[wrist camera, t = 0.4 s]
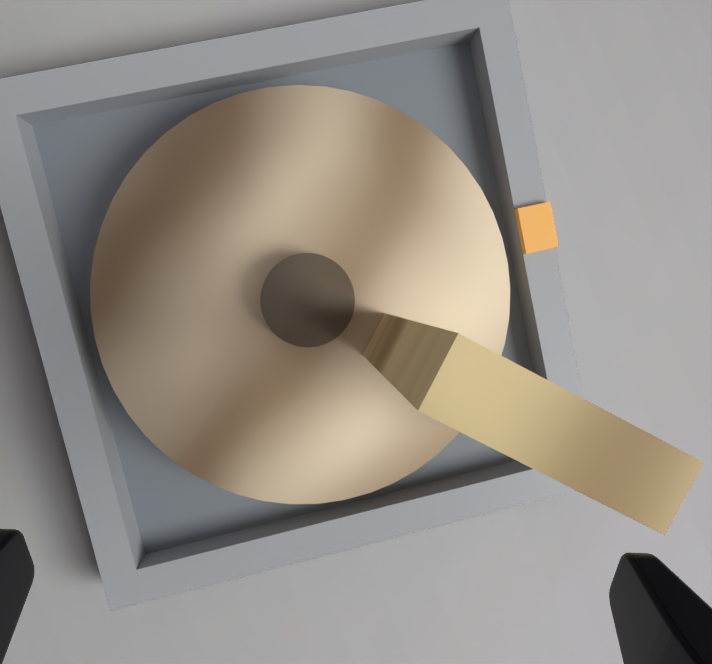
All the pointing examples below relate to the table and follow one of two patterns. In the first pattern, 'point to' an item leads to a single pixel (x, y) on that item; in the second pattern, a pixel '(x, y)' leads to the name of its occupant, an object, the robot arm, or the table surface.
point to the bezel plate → (100, 184)
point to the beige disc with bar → (334, 313)
